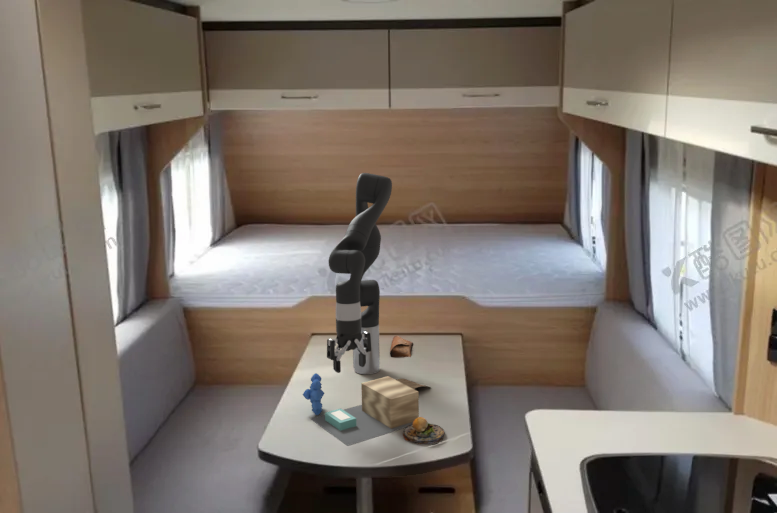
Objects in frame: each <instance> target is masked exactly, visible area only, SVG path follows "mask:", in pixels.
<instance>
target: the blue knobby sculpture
mask: <svg viewBox="0 0 777 513" xmlns="http://www.w3.org/2000/svg"><path fill="white" fill-rule="evenodd" d="M310 381H311V384H310V386H309V388H307V389H305V390H304V391H303V393H302V396H303V397H304V398H305V400H310V401H309V403H311V411H312V413H313V414H314V415H315V416H319V415H320V414H321V413H322V411H323V404H322V399H323V397H324V395H325V392H324V391H323V390H322V385H323V384H322V383H321V381H322V377H321V376H320V375H319V373H314V374H312V376H311V378H310Z"/></svg>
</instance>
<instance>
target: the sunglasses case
mask: <svg viewBox="0 0 777 513" xmlns="http://www.w3.org/2000/svg"><path fill="white" fill-rule="evenodd" d="M390 345H391V346H390V350H389V356H390V357H391V358H411V357H412V354H411V350H412V347H413V345H414V342H412V341H411V340H407V339H405V338H402V337H401V336H399V335H397V334H396V335H394V336H393V338H392V340H391V344H390Z"/></svg>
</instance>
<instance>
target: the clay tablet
mask: <svg viewBox="0 0 777 513" xmlns="http://www.w3.org/2000/svg"><path fill="white" fill-rule="evenodd" d="M394 379H395V378H394ZM395 380H397V381H399V382H401V383H403V384H405V385H407V386H408V387H410V388H412V389H414V390H416V389H417V388H421V387H425V388H429V389H431V386H426V385H423V384H421V383H418V382H415V381H412V380H409V379H407V378H396V379H395Z"/></svg>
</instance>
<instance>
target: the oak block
mask: <svg viewBox="0 0 777 513" xmlns="http://www.w3.org/2000/svg"><path fill="white" fill-rule="evenodd" d="M360 389H361V405H362V411H364V412H365V413H367V414H368V415H370V416H372V417H373V418H375V419H377V420H378V421H380V422H381V423H383V424H385V425H386V426H388V427H389V428H395V427H398V426H401V425H404V424H408V423H411V422H413V421H414V420H415V419H416V418H418V417H420V416H419V415H420V412H419V410H420V409H419V407H420V406H419V404H420V402H419V398H420V397H419V391H418V390H417V389H412V388H410V387H408V386H407V385H405V384H403V383H401V382H399V381H397V380H395V378H393V377H391V376H388V375H387V376H383V377H380V378H376V379H372V380H369V381H364V382H361V388H360Z"/></svg>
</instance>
